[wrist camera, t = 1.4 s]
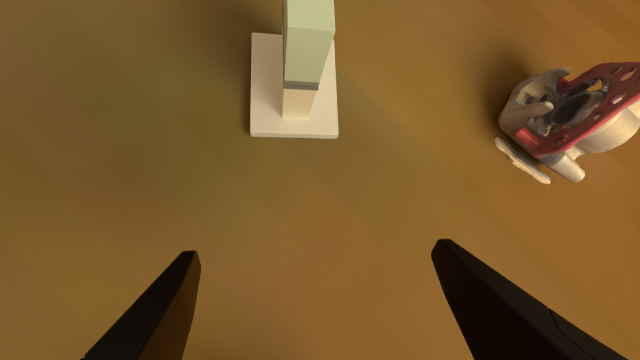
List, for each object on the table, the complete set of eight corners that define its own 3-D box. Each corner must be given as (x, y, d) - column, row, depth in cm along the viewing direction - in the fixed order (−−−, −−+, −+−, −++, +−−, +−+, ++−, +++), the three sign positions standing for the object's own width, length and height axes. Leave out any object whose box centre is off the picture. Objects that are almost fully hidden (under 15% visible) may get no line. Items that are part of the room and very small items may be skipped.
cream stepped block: (336, 138, 25) (356, 109, 19) (251, 136, 23) (242, 103, 17) (331, 46, 27) (349, -9, 20) (252, 39, 25) (245, -23, 19)
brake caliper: (520, 42, 28) (717, 13, 19) (525, 115, 35) (671, 119, 26) (476, 118, 25) (681, 126, 16) (490, 181, 32) (640, 212, 23)
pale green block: (318, 85, 18) (335, 31, 13) (283, 83, 18) (287, 27, 13) (315, -1, 19) (330, -81, 14) (283, -5, 19) (285, -89, 14)
